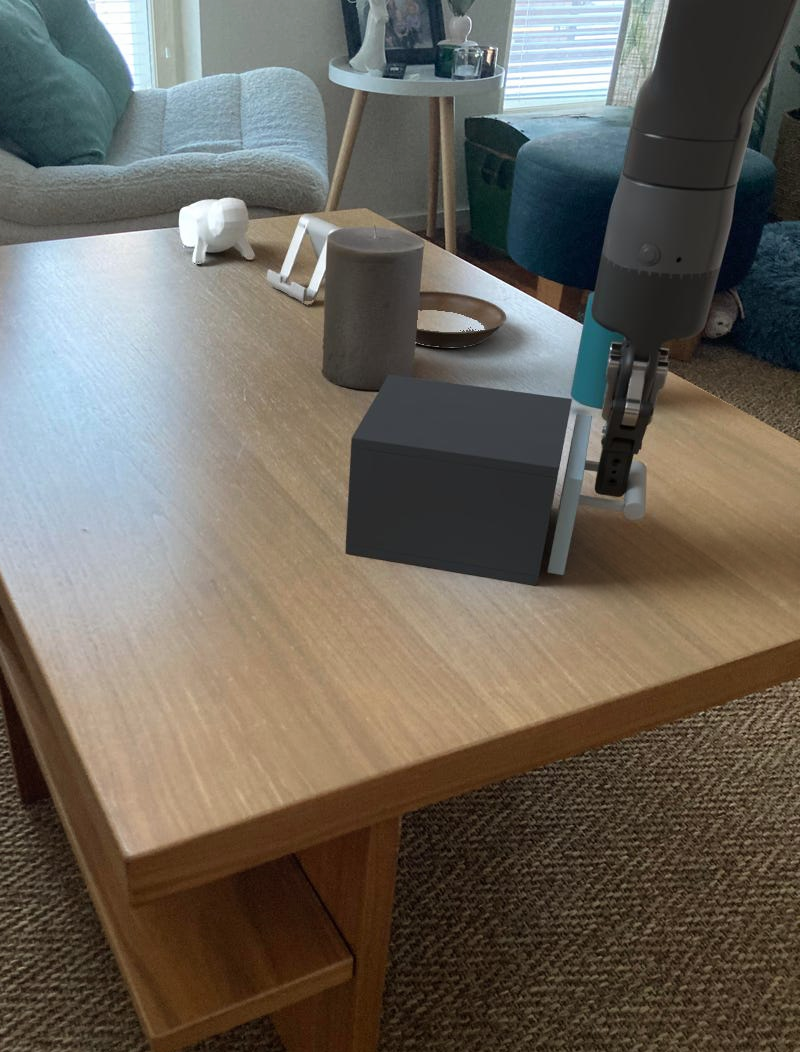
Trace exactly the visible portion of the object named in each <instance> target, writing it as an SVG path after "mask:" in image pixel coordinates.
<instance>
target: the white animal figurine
mask: <svg viewBox="0 0 800 1052" xmlns="http://www.w3.org/2000/svg"><path fill="white" fill-rule="evenodd" d="M249 225H250V217H249V211H248V208H247V205H246V203H245V201H244V200H243V199H239V198H236V197H223V198H220V199H213V198H211V199H202V200H198V201H196V202H193V203H191V204H190V205H187V206H183V207H181V208H180V211H179V216H178V228H179V235H180V241H181V242H182V244H184V245H186V246H187V247H186V248H194V249H193V253H192V257H191V258H192V264H193V265H195V264H194V263H196V264H197V263H203V264H204V263H205V262H206V253H221V252H225V251H226V250H229V249H231V248H234V249H235V250H237V251H238V252H239V253H240V255H241V256H242V257H243V256H244V257H246V258H250V257H254V256H255V257H256V254H255V251H254V250H253V248H252V246H251V244H250V243H249V241H248V239H247V238H246V236H245V234H247V232H248V231H249ZM182 246H183V245H182ZM183 248H185V247H184V246H183ZM193 262H194V263H193Z"/></svg>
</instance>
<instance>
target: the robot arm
mask: <svg viewBox="0 0 800 1052" xmlns="http://www.w3.org/2000/svg"><path fill="white" fill-rule="evenodd" d="M799 1H800V0H668V3H667V4H668V5H667V10H666V14H665V19H664V23H663V27H662V32H661V35H660V41H659V45H658V49H657V55H656V59H655V63H654V66H653V70H652V72H651V73H650V74H648V75H647V76H646V78H645V79H644V80H643V82H642V84H641V86H640V89H639V91H638V94H637V96H636V100H635V102H634V107H633V110H632V116H631V120H630V125H629V130H628V135H627V140H626V145H625V151H624V155H623V161H622V166H621V172H620V176H619V180H618V184H617V187H616V190H615V194H614V195H613V199H612V202H611V206H610V209H609V214H608V219H607V224H606V229H605V235H604V240H603V245H602V251H601V255H600V261H599V267H598V272H597V276H596V281H595V286H594V287H595V288H594V291H595V292H594V291H593V292H594V297H593V302H592V308H591V314H592V317H593V319H594V320H595V322H596V323H597V324H599V325H600V326H601V327H603V328H605V329H607V330H609V331H611V332H618V333H620V334H622V335H624V341H623V342H621V343H618V342H611V347H610V352H609V357H608V366H607V372H606V381H607V385H606V389H605V394H604V401H603V408H601V409H602V411H601V418H602V419H603V420H604V421H605V424H604V425H603V426H602V428H601V429H602V430H601V434H603V435H601V438H600V445H601V453H600V457H599V461H598V462H599V466H598V471H597V472H596V476H595V482H594V492H595V493H596V494H597V495H600V496H607V497H614V498H621V497H623V496H625V490H626V486H627V481H628V477H629V473H630V468H631V464H632V462H633V459H634V455H638V454H639V452H640V451H641V450H642V446H643V440H644V437H645V435H646V432H647V429H648V426H649V425H650V424H651V423H652V420H653V416H654V414H655V408H656V404H657V402H658V401H657V400H658V397H659V392H660V390H662V389H663V388H664V386H665V384H666V380H667V376H668V372H669V368H670V367H669V366H670V361H669V360H668V358H669V353H670V348H666V347H662V346H663V344H664V343H666V342H671V341H674V340H677V341H683V340H687V339H691V338H694V337H695V336H698V335H699V334H700V333H702V331H703V330H704V328H705V327H706V324H707V321H708V316H709V313H710V309H711V305H712V301H713V298H714V293H715V290H716V285H717V283H718V282H717V281H718V278H719V274H720V270H721V266H722V263H723V258H724V254H725V250H726V247H727V243H728V240H729V235H730V231H731V227H732V222H733V215H734V208H735V207H734V206H735V199H736V191H737V187H738V182H739V178H740V174H741V171H742V167H743V162H744V159H745V155H746V151H747V148H748V143H749V139H750V135H751V131H752V128H753V122H754V115H755V111H756V110H755V109H756V106H757V102H758V100H759V97H760V95H761V92H762V90H763V88H764V86H765V84H766V83H767V81H768V78H769V76H770V74H771V72H772V69H773V67H774V64H775V62H776V59H777V57H778V54H779V52H780V50H781V47H782V45H783V42H784V40H785V37H786V35H787V32H788V30H789V27H790V25H791V22H792V20H793V17H794V15H795V12H796V9H797V6H798V5H799Z"/></svg>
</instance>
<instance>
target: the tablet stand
mask: <svg viewBox="0 0 800 1052" xmlns="http://www.w3.org/2000/svg"><path fill="white" fill-rule="evenodd" d="M338 229H344V228H342V227H340V226H338V225H336V224H333V223H332V222H329V221H327V220H324V219H322V218H320V217H316V216H314V215H312V214H311V213H303V214H302V215H301V216H300V217H299V219H298V223H297V226H296V227H295V231H294V234H293V236H292V239H291V242H290V244H289V247H288V250H287V252H286V256H285V259H284V261H283V264H282V266H281V269H280V272H279V273H277V272H276V271H274V270H273V269H268V270H267V274H266V283H267V284H268V285H269V284H270V285H272V286H274V287H275V288H277V289H279V290H281V291H283V292H285V293H287V294H289V295H291V296H293V297H295V298H296V299H298V300H300V301H302V302H303V303H304V302H305V300H306V301H312V300H315V301H316V300H317V296H318V294H319V291H320V289H321V286H322V283H323V281H324V278H325V272H326V249H327V238H328V235H329V234H330V233H332V232H333V231H336V230H338ZM307 235H308V236H309V239H310V242H311V245H312V248H313V252H314V254H315V257H316V260H317V263H316V266H315V269H314V271H313V274H312V276H311V279H310V281H309V285H308V286H307V287H304V286H302V285H301V284H299V283H297V282H295V281H293V280H292V281H290V284H289V280H290V277H291V275H292V271H293V269H294V266H295V264H296V261H297V259H298V256H299V253H300V250H301V247H302V244H303V242H304V239H305V237H306V236H307ZM270 285H269V286H270ZM272 286H271V287H272ZM277 289H276V290H277ZM279 290H278V291H279ZM281 291H280V292H281ZM283 292H282V293H283ZM285 293H284V294H285ZM287 294H286V295H287ZM296 299H295V300H296ZM298 300H297V301H298ZM303 303H301V304H302V305H304V304H303ZM312 305H313V304H310V305H307V307H309V306H312Z"/></svg>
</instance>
